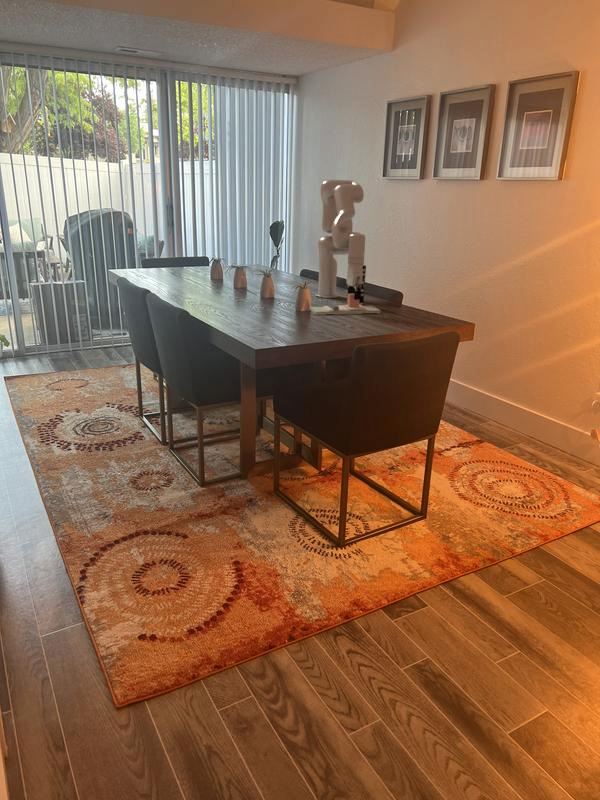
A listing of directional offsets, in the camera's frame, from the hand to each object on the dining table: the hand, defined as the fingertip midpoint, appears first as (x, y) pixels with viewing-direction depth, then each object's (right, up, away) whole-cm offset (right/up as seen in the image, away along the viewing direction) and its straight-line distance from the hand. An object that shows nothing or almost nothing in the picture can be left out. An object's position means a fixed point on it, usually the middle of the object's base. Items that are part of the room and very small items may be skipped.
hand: (354, 297), depth 286 cm
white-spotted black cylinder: (+2, -1, +17) cm, 17 cm away
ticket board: (-4, -6, +2) cm, 8 cm away
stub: (+1, -4, +2) cm, 5 cm away
